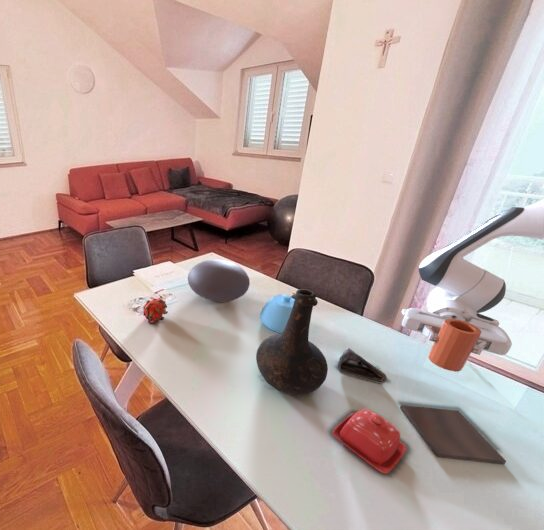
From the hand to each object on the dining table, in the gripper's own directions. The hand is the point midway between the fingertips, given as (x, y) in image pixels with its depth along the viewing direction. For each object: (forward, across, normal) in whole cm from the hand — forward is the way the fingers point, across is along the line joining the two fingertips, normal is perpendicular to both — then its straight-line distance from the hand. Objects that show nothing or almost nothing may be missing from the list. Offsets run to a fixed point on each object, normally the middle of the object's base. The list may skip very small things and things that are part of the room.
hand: (454, 345), depth 76 cm
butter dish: (+26, -12, +17) cm, 33 cm away
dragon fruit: (+15, -79, +17) cm, 82 cm away
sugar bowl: (-10, -41, +17) cm, 45 cm away
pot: (-1, 0, +6) cm, 6 cm away
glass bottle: (+17, -32, +17) cm, 40 cm away
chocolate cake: (0, -16, +17) cm, 23 cm away
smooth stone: (-15, -69, +17) cm, 72 cm away
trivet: (+12, +3, +17) cm, 21 cm away
